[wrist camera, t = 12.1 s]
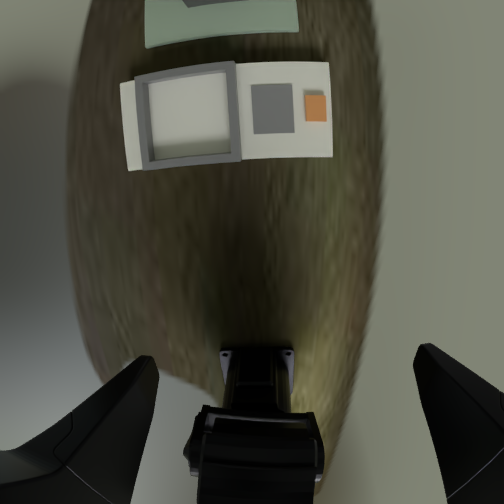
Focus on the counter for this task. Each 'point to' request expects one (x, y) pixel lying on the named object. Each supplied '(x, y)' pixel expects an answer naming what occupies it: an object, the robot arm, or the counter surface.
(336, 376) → the counter surface
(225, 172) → the counter surface
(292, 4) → the rubber mat
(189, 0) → the brick
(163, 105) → the power strip
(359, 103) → the counter surface
